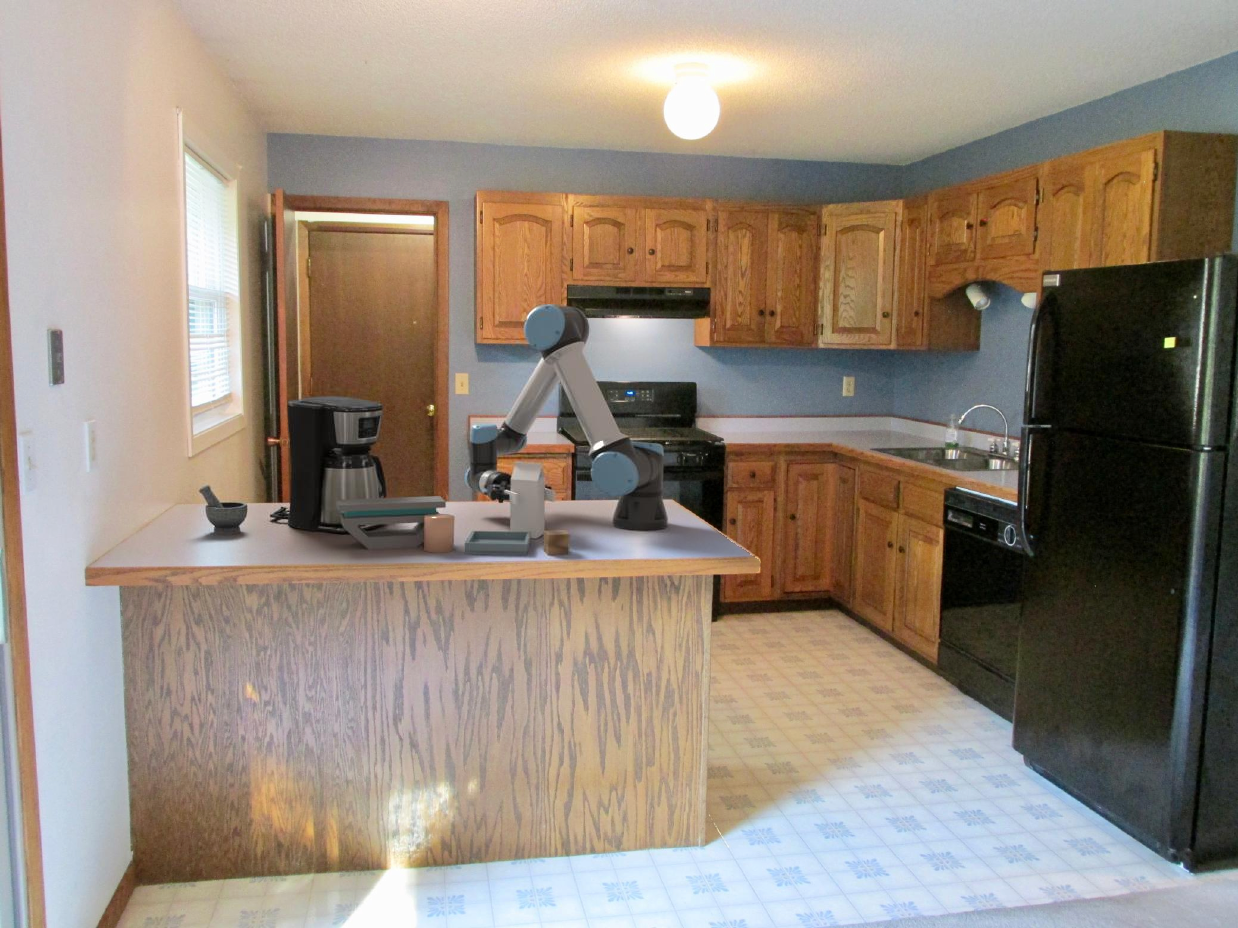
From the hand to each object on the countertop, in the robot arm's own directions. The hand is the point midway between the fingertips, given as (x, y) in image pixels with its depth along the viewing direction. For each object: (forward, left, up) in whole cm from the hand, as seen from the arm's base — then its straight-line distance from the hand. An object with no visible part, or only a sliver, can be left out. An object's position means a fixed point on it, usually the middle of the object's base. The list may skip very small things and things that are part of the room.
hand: (535, 497), depth 249 cm
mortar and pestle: (+78, -1, -11) cm, 79 cm away
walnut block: (-6, +15, -11) cm, 19 cm away
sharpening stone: (+34, +10, -11) cm, 37 cm away
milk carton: (+2, -4, -11) cm, 12 cm away
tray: (+8, +11, -11) cm, 17 cm away
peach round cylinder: (+22, +14, -11) cm, 28 cm away
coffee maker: (+54, -16, -11) cm, 57 cm away
